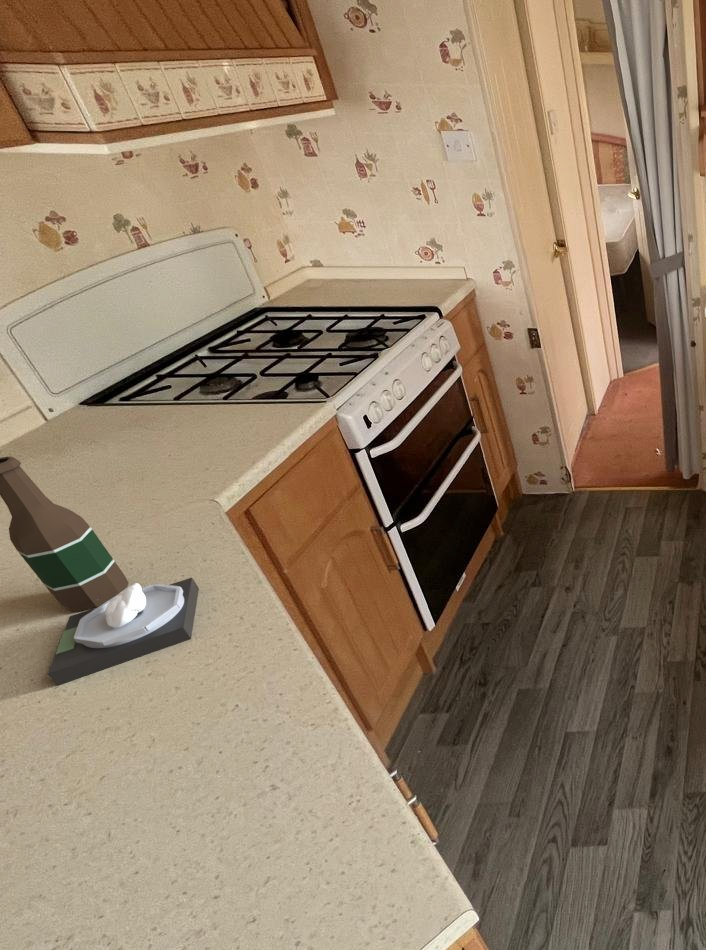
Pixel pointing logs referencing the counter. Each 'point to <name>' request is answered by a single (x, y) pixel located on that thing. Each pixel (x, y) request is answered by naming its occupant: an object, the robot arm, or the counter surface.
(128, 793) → the counter surface
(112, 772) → the counter surface
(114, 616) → the dumpling
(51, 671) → the scale
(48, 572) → the beer bottle
